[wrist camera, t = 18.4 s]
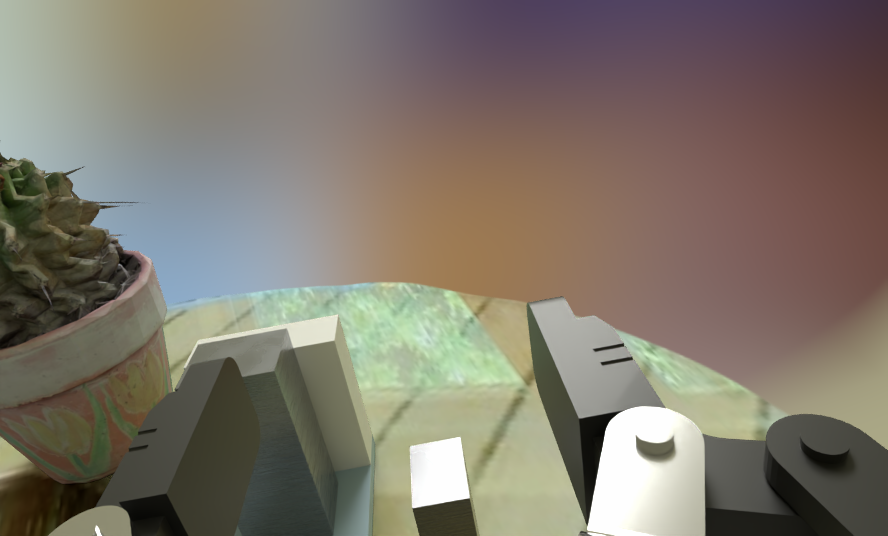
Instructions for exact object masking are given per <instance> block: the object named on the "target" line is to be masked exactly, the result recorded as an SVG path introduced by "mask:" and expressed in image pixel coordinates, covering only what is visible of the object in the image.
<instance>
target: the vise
mask: <svg viewBox="0 0 888 536" xmlns="http://www.w3.org/2000/svg"><path fill="white" fill-rule="evenodd" d="M285 328H287V330H288V333H289V336H290V339H291V342H292V345H293V348H294V351H295V354H296V357H297V360H298V363H299V366H300V369H301V372H302V375H303V378H304V381H305V384H306V387H307V390H308V393H309V396H310V399H311V402H312V405H313V408H314V411H315V414H316V417H317V420H318V423H319V426H320V429H321V432H322V435H323V438H324V441H325V444H326V447H327V450H328V453H329V456H330V459H331V462H332V465H333V468H334V471H335V474H336V477H337V480H338V493H337V503H336V513H335V524H334V534H333V536H372V526H373V494H374V462H375V442H374V439H373V435H372V432H371V428H370V425H369V421H368V418H367V414H366V410H365V407H364V403H363V400H362V396H361V393H360V389H359V386H358V382H357V379H356V375H355V372H354V368H353V364H352V361H351V357H350V354H349V350H348V347H347V343H346V340H345V336H344V333H343V329H342V326H341V322H340V319H339V315H333V316H327V317H322V318H316V319H311V320H305V321H300V322H294V323H289V324H284V325H278V326H273V327H267V328H262V329H256V330H251V331H245V332H240V333H234V334H229V335H223V336H218V337H212V338H207V339H201V340H198V342H197V343H196V345H195V347H194V349H193V351H192V353H191V355H190V357H189V358H188V360H187V362H186V364H185V366H184V371H185V369H186V367H187V365H188V363H189V361H190V359H191V357H192V355H193V353H194V351H195V350H196V348H197V346H198V344H204V343H209V342H215V341H220V340H225V339H231V338H236V337H242V336H247V335H253V334H258V333H263V332H269V331H274V330H280V329H285ZM234 536H242V534H241V532H240V530H239V528H238V526H237V528H236V532H235V535H234Z"/></svg>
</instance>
